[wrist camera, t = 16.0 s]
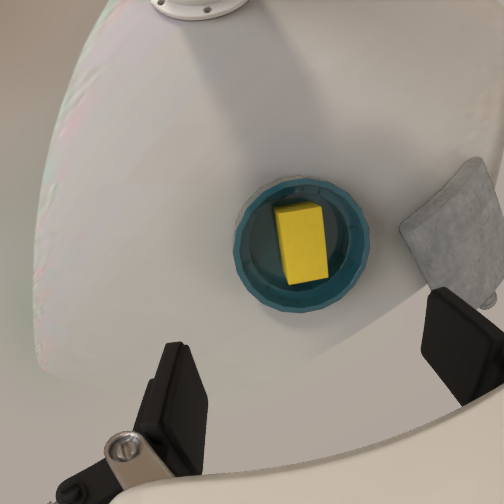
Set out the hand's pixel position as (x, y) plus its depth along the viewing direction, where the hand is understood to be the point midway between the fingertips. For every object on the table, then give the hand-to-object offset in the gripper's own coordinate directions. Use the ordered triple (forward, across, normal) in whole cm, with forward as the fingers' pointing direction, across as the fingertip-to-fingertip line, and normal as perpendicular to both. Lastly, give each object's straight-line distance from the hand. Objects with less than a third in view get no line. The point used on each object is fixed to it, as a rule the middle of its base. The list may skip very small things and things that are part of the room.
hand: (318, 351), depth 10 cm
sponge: (+21, -3, +2) cm, 22 cm away
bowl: (+22, -3, +2) cm, 22 cm away
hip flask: (+20, -22, -1) cm, 29 cm away
